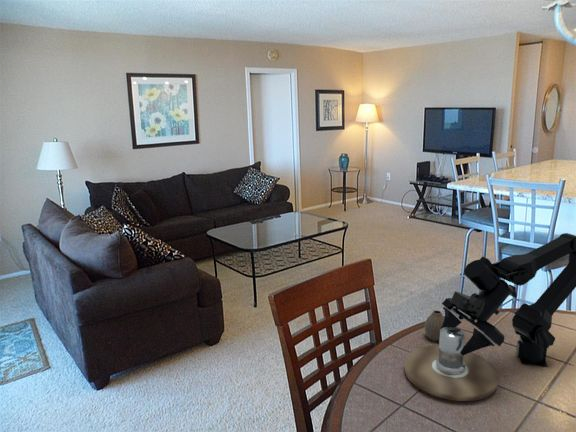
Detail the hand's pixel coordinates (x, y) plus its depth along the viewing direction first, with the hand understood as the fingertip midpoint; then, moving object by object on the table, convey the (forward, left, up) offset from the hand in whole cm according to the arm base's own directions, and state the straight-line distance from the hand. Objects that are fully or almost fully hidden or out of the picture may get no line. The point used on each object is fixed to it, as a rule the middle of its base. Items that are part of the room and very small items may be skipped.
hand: (450, 345), depth 115 cm
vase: (+2, -20, -9) cm, 23 cm away
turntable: (0, 0, -9) cm, 9 cm away
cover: (0, 0, -6) cm, 6 cm away
